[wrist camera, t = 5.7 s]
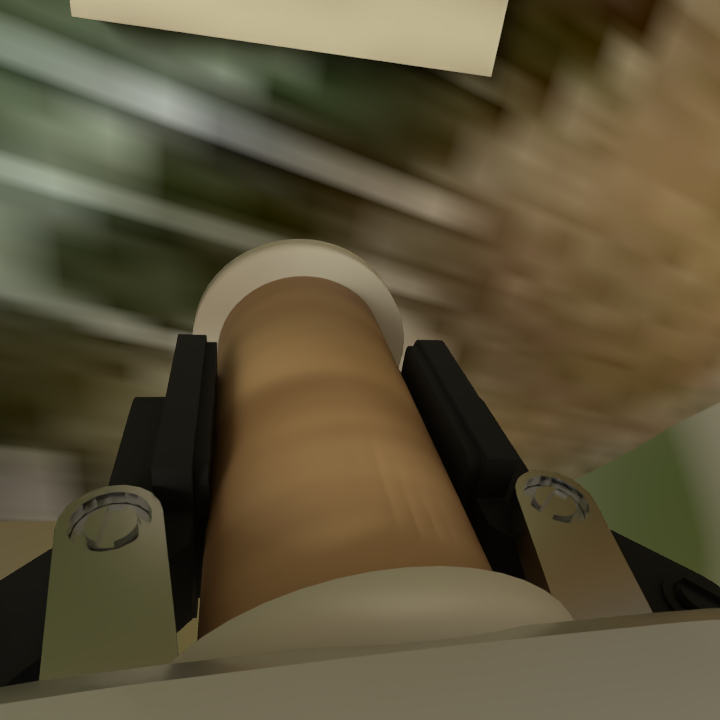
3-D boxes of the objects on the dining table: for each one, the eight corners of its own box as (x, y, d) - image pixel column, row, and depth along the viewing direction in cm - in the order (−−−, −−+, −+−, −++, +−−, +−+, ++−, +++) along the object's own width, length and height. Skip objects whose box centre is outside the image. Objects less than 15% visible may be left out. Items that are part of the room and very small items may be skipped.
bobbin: (380, 416, 16) (537, 849, 7) (196, 417, 15) (138, 934, 6) (411, 245, 13) (704, 620, 5) (190, 231, 12) (78, 690, 4)
